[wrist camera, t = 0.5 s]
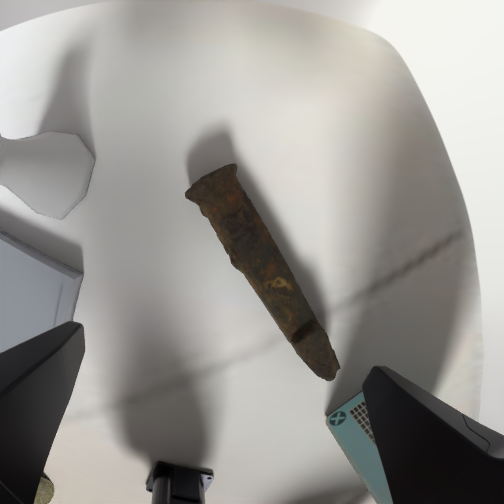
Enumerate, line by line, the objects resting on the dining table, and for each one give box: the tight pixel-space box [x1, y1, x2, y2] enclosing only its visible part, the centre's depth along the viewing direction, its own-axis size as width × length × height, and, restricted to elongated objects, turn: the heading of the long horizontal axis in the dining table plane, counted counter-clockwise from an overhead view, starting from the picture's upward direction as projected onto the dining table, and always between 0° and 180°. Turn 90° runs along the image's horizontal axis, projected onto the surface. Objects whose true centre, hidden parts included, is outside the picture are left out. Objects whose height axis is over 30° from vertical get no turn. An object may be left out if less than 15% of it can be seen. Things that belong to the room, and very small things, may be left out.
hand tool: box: [185, 164, 340, 381], centre depth 21 cm, size 19×4×5 cm, turn 28°
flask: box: [0, 131, 95, 220], centre depth 14 cm, size 7×7×10 cm
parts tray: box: [0, 230, 84, 353], centre depth 18 cm, size 15×15×2 cm
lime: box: [34, 477, 54, 504], centre depth 19 cm, size 4×5×5 cm
